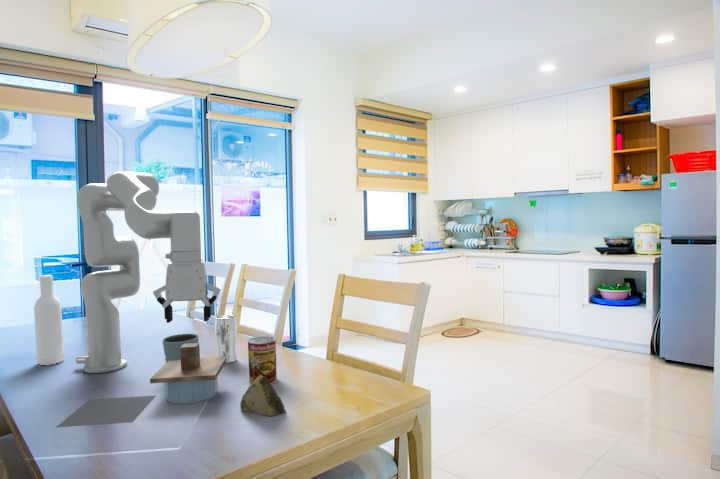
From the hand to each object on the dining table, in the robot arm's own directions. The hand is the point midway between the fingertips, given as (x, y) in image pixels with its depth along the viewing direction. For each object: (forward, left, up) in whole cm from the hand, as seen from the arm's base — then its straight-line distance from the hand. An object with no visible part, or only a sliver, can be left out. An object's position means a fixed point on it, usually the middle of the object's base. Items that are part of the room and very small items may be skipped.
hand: (188, 320), depth 128 cm
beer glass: (+4, +31, -20) cm, 37 cm away
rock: (+20, -14, -21) cm, 32 cm away
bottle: (-57, +41, -20) cm, 73 cm away
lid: (0, 0, -14) cm, 14 cm away
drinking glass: (-7, +17, -21) cm, 27 cm away
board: (-18, -8, -20) cm, 28 cm away
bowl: (0, 0, -20) cm, 20 cm away
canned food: (+18, +9, -21) cm, 29 cm away
